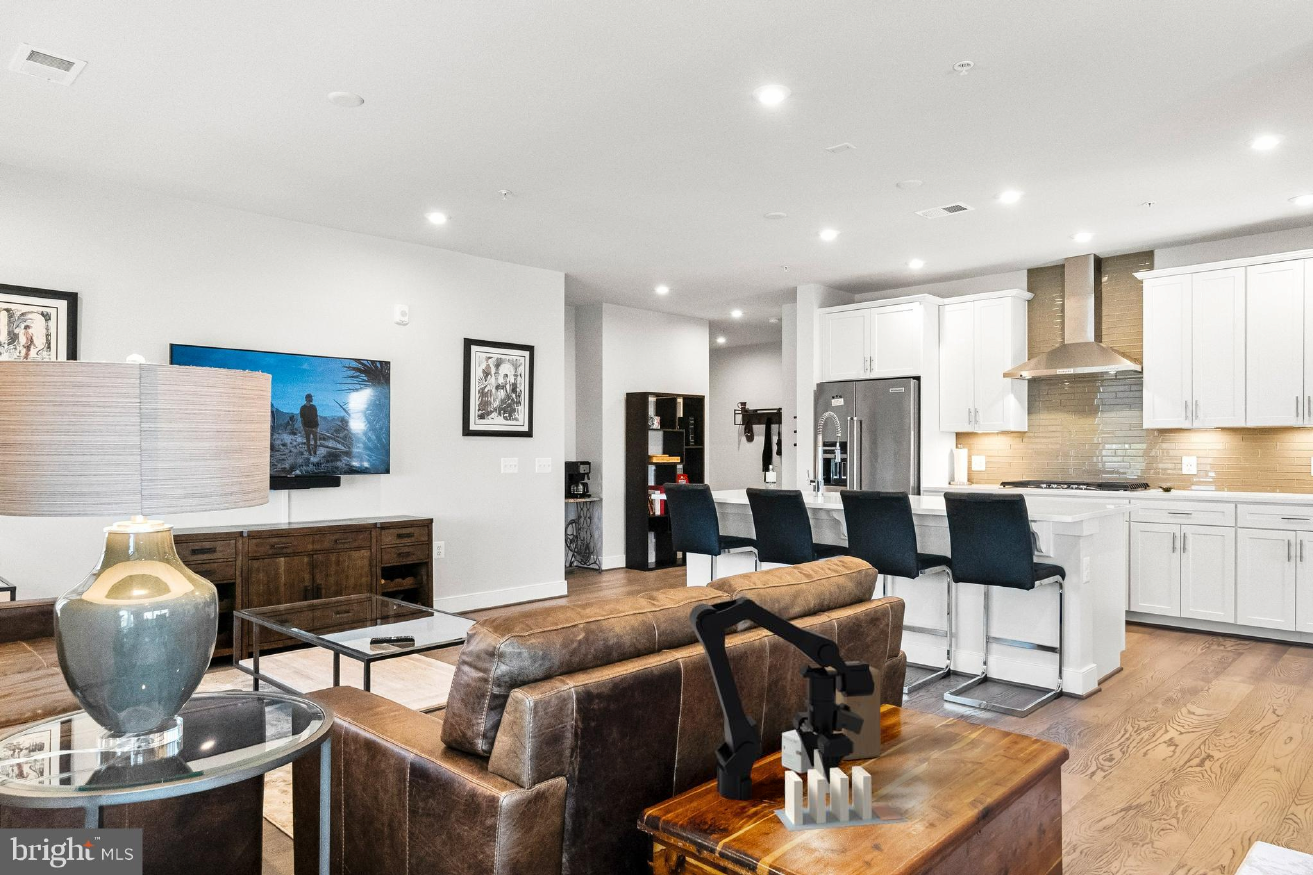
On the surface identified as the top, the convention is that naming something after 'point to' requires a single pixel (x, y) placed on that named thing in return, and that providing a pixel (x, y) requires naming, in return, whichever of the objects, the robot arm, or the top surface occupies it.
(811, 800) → the domino
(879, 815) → the domino board
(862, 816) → the domino
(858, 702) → the wooden block
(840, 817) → the domino
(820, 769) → the end domino
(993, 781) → the top surface
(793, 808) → the domino
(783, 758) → the skincare box
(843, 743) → the robot arm
